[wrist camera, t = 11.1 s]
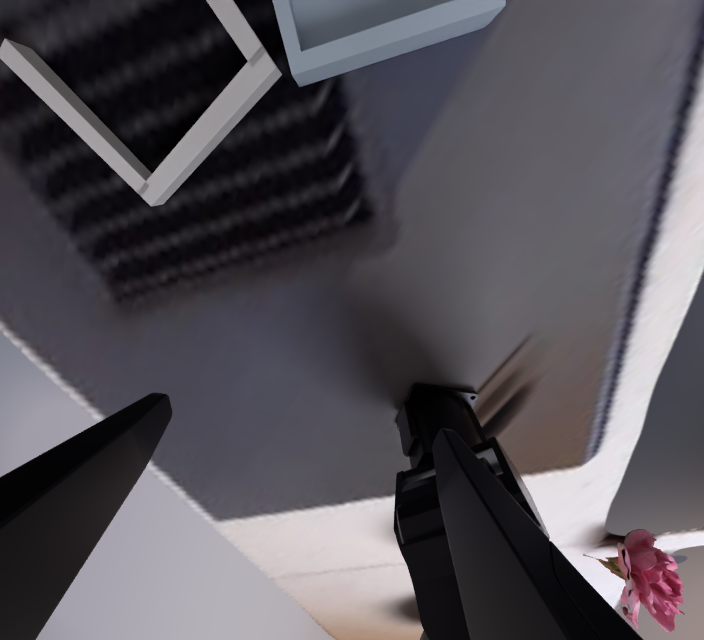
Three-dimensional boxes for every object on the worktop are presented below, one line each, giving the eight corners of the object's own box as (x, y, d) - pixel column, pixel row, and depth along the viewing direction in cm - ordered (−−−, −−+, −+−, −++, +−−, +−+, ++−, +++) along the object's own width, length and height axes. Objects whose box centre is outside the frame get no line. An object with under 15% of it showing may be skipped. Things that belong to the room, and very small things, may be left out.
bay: (282, 74, 14) (276, 67, 13) (163, 204, 18) (150, 206, 17) (137, -149, 11) (113, -182, 10) (23, 63, 14) (-4, 54, 13)
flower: (622, 499, 41) (725, 568, 34) (598, 524, 46) (683, 588, 39) (591, 557, 36) (703, 652, 29) (568, 577, 42) (658, 661, 34)
